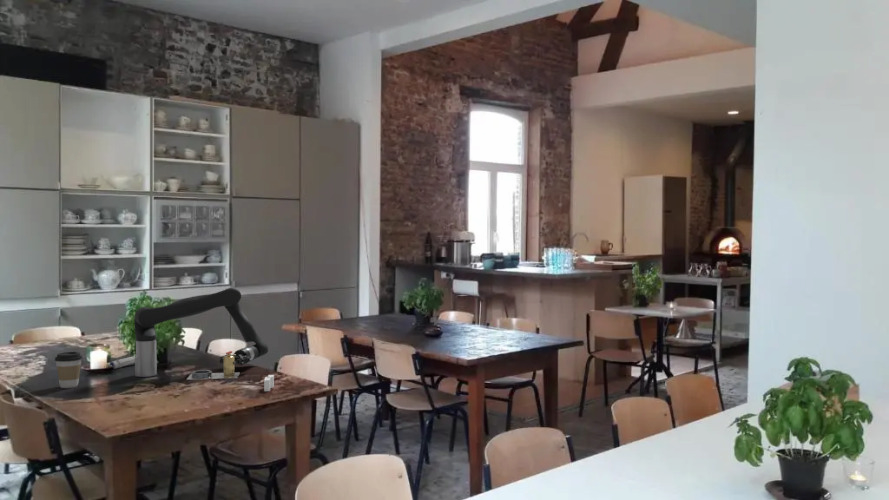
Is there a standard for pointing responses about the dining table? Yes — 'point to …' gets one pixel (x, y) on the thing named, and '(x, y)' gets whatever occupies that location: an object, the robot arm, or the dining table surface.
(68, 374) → the coffee cup
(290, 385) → the dining table surface
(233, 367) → the brass valve
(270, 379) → the napkin holder
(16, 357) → the dining table surface
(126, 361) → the grey long cylinder
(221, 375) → the manifold plate
